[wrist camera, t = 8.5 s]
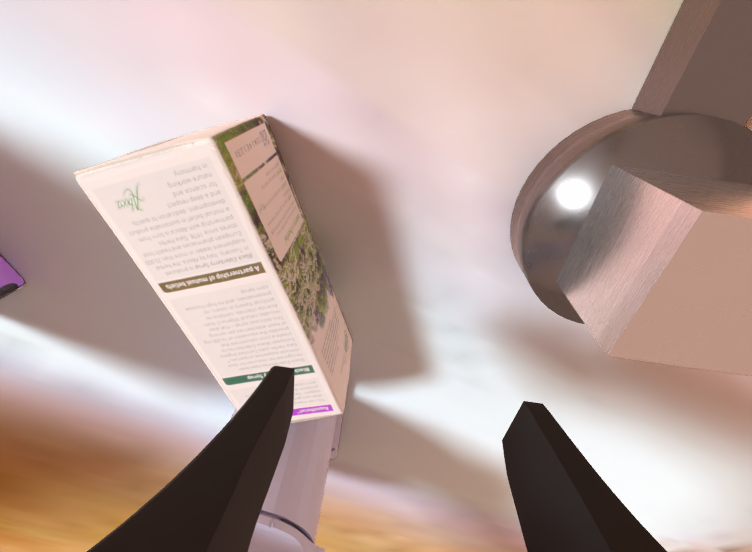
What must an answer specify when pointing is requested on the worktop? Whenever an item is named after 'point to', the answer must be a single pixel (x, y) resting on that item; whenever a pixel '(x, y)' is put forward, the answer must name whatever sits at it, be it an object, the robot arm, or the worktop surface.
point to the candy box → (9, 279)
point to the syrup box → (231, 259)
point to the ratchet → (646, 138)
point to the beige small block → (666, 270)
